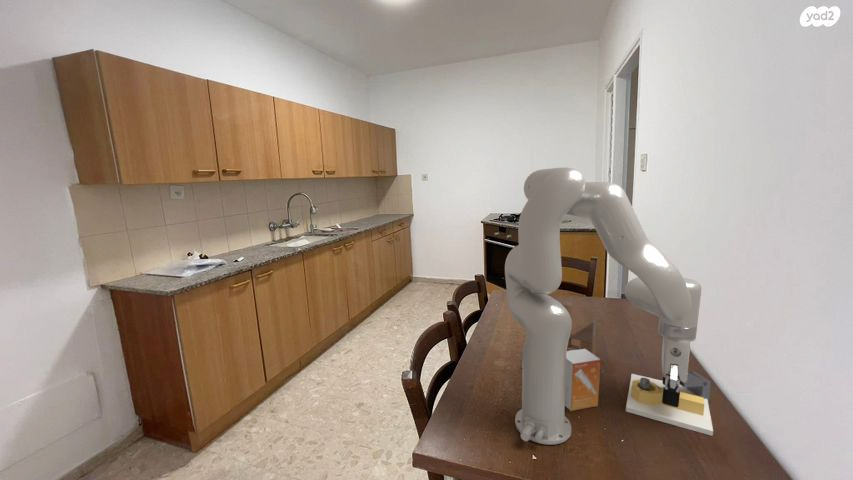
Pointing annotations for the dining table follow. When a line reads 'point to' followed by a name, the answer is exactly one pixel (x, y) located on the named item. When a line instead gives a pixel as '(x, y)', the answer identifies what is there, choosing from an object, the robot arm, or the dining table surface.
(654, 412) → the board
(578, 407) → the small box
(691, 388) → the block
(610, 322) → the dining table surface
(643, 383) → the pin
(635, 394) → the link
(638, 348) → the dining table surface
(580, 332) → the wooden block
